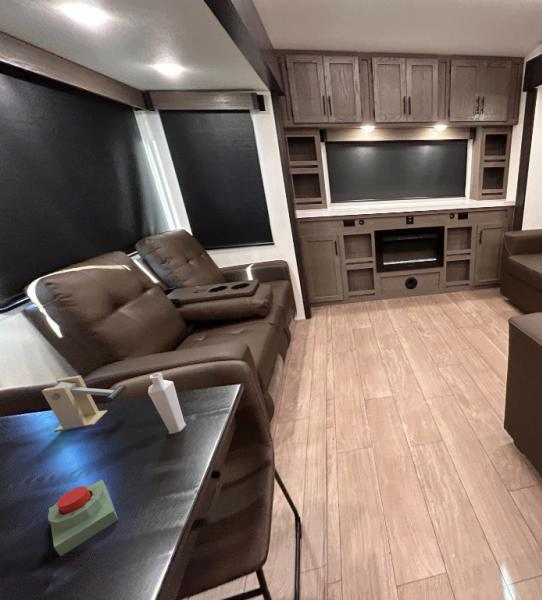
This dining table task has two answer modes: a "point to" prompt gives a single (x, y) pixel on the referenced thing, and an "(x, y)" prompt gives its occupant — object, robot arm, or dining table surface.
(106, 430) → the dining table surface
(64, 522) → the button block
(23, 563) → the dining table surface
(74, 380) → the lever bracket
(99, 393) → the gray bracket-mounted lever
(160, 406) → the perfume bottle
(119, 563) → the dining table surface
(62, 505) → the button
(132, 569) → the dining table surface
